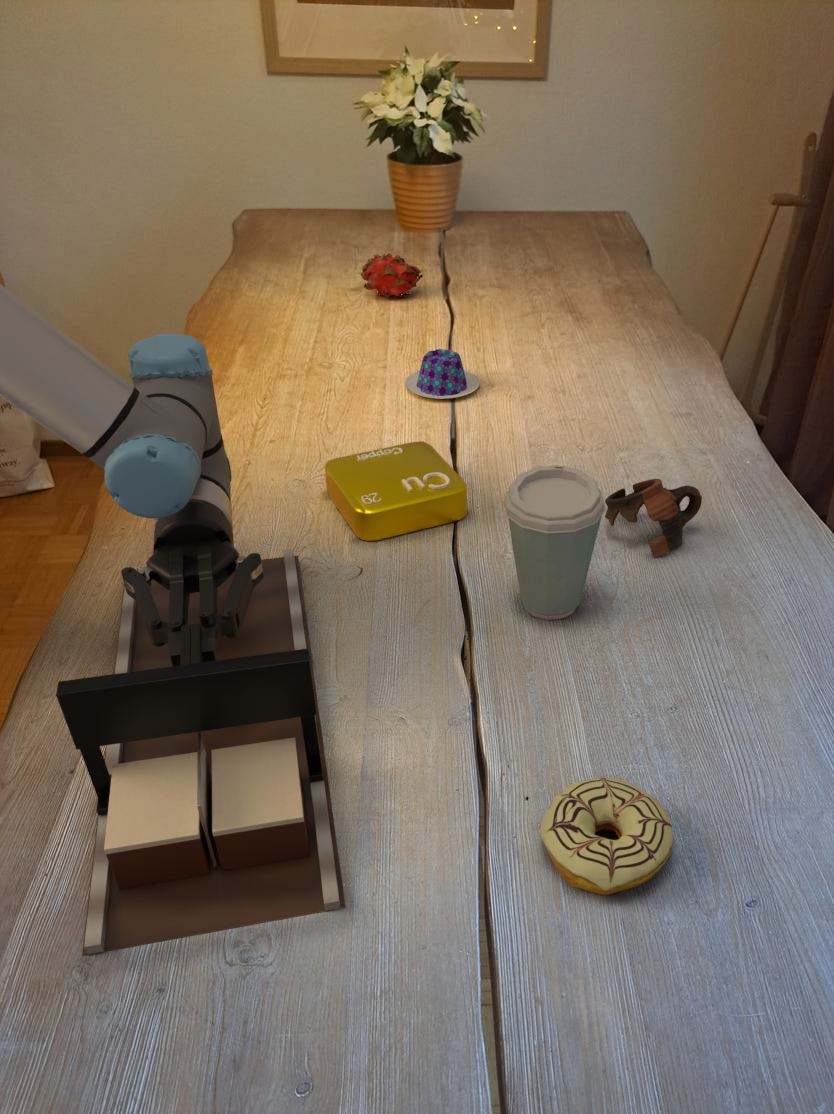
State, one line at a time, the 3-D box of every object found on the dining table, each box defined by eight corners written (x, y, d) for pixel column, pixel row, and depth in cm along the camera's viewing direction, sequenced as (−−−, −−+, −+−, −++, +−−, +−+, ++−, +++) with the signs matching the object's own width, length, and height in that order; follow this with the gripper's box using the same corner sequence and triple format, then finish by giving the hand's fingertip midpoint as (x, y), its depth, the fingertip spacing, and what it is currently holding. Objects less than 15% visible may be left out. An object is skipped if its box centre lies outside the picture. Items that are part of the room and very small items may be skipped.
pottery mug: (636, 570, 112) (613, 506, 110) (609, 560, 121) (587, 500, 119) (724, 530, 113) (704, 466, 111) (690, 523, 122) (671, 463, 120)
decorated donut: (515, 848, 79) (517, 819, 77) (596, 782, 85) (600, 753, 83) (612, 924, 73) (617, 895, 71) (692, 847, 79) (699, 818, 77)
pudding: (492, 380, 152) (493, 349, 149) (457, 409, 144) (457, 376, 141) (428, 366, 157) (427, 335, 153) (390, 393, 148) (389, 361, 145)
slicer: (101, 787, 82) (59, 671, 73) (322, 753, 85) (306, 638, 77) (90, 888, 74) (41, 770, 65) (335, 846, 77) (319, 729, 69)
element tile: (426, 466, 130) (425, 434, 127) (472, 518, 120) (472, 485, 117) (323, 488, 125) (319, 456, 122) (361, 545, 115) (358, 511, 112)
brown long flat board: (127, 583, 108) (122, 567, 107) (298, 563, 112) (296, 547, 110) (85, 965, 70) (78, 948, 69) (347, 916, 74) (344, 900, 72)
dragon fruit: (357, 302, 184) (418, 310, 186) (360, 289, 176) (423, 296, 178) (360, 258, 184) (421, 266, 186) (362, 242, 175) (426, 251, 177)
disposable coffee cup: (590, 638, 101) (603, 519, 92) (491, 626, 103) (494, 507, 93) (598, 581, 109) (611, 467, 100) (507, 571, 111) (511, 457, 101)
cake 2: (221, 789, 82) (211, 749, 79) (301, 776, 84) (295, 737, 80) (222, 871, 76) (212, 831, 72) (310, 856, 77) (303, 816, 74)
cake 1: (126, 804, 81) (112, 764, 78) (209, 791, 82) (199, 751, 79) (119, 889, 74) (103, 849, 71) (209, 874, 75) (198, 834, 72)
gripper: (265, 555, 97) (280, 707, 80) (134, 570, 95) (119, 731, 77) (255, 492, 93) (269, 639, 75) (117, 506, 90) (97, 661, 72)
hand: (193, 685), depth 76 cm, fingers closed
